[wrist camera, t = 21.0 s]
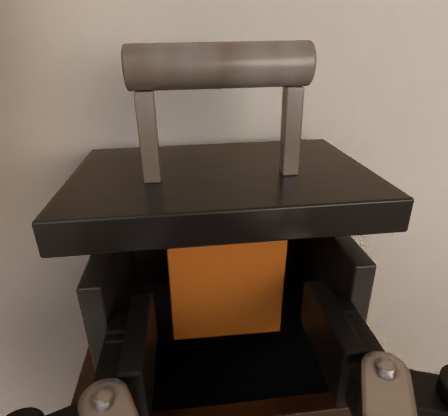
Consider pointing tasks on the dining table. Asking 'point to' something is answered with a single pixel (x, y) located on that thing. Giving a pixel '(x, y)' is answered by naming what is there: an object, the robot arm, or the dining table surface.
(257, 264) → the block
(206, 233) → the drawer
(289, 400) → the cabinet
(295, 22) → the dining table surface
